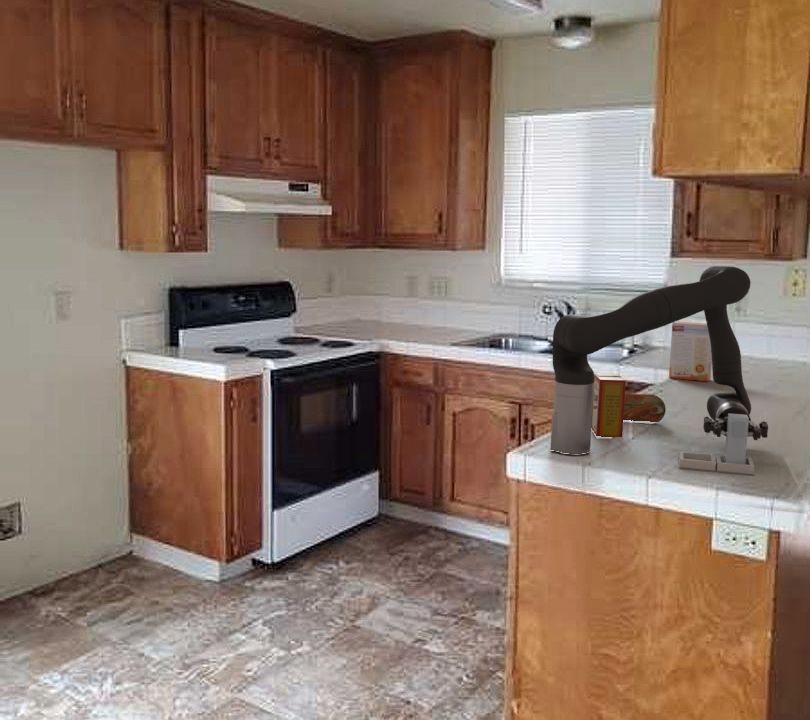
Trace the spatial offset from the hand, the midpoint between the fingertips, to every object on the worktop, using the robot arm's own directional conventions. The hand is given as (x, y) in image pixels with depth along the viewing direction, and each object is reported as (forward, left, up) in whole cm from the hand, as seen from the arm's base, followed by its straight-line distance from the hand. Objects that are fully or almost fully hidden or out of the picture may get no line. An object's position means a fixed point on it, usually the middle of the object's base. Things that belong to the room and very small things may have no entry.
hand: (737, 434), depth 193 cm
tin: (-23, +48, -10) cm, 54 cm away
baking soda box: (-30, +29, -10) cm, 43 cm away
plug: (0, +2, -8) cm, 9 cm away
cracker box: (-7, +133, -10) cm, 133 cm away
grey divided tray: (-4, +2, -10) cm, 11 cm away
